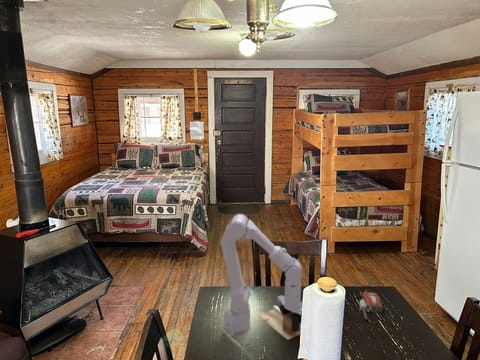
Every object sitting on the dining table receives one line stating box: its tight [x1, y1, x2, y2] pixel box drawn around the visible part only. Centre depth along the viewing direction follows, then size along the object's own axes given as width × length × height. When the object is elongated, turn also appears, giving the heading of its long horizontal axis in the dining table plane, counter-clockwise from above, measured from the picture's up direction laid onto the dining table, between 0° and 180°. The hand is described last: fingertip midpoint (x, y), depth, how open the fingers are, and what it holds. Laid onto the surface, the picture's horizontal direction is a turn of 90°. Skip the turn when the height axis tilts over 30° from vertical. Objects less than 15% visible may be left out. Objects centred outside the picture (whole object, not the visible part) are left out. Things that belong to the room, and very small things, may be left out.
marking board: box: [257, 305, 302, 341], centre depth 136 cm, size 9×18×3 cm, turn 33°
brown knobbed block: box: [282, 311, 300, 335], centre depth 131 cm, size 8×4×6 cm, turn 123°
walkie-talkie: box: [359, 291, 384, 321], centre depth 148 cm, size 9×4×20 cm
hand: (291, 327), depth 131 cm, fingers closed on brown knobbed block, 4 cm apart
